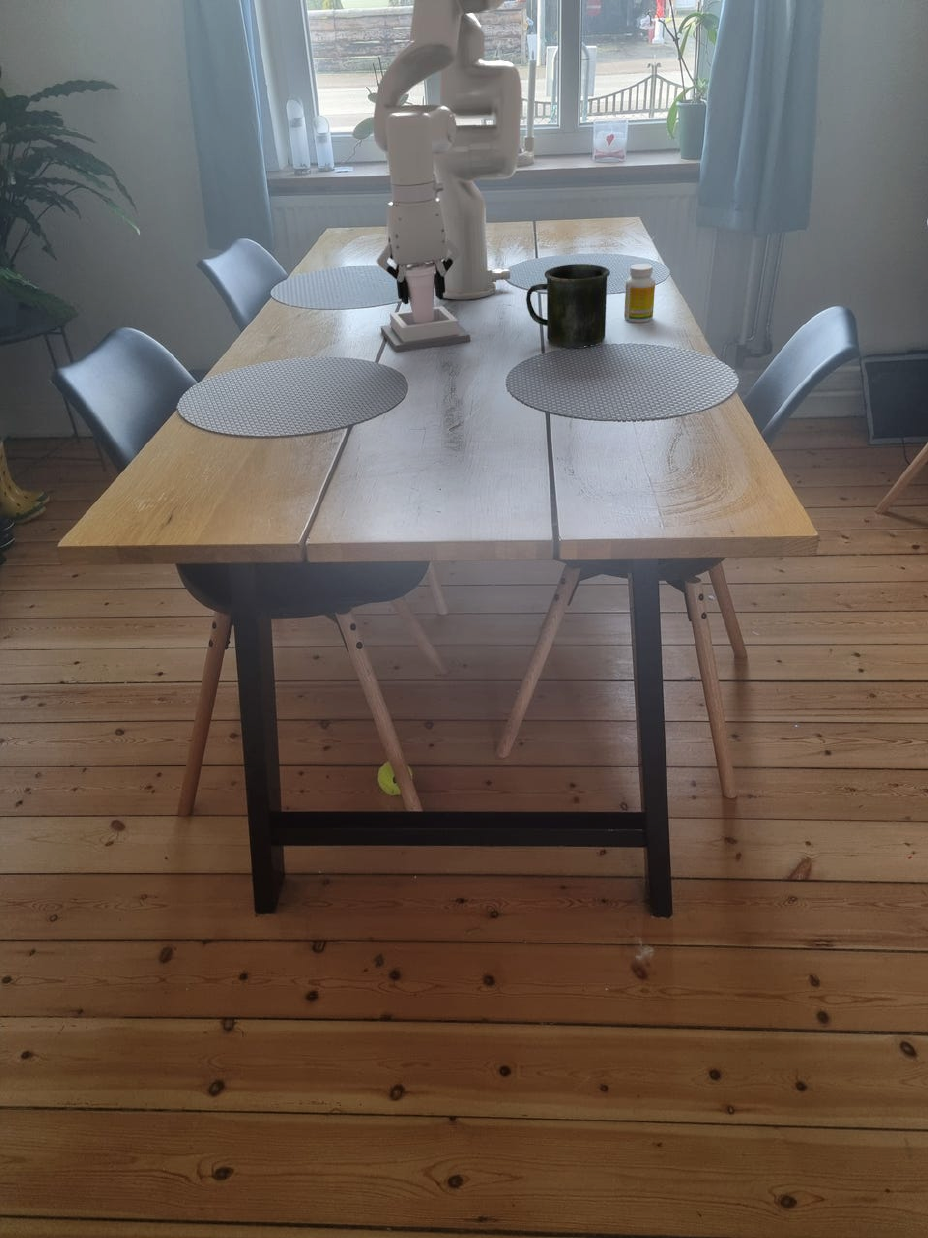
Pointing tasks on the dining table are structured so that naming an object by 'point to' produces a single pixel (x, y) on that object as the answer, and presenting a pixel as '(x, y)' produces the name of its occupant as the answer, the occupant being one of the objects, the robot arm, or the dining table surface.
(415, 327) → the dock
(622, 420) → the dining table surface
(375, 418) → the dining table surface
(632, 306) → the supplement bottle
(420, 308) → the smoothie
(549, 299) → the mug
